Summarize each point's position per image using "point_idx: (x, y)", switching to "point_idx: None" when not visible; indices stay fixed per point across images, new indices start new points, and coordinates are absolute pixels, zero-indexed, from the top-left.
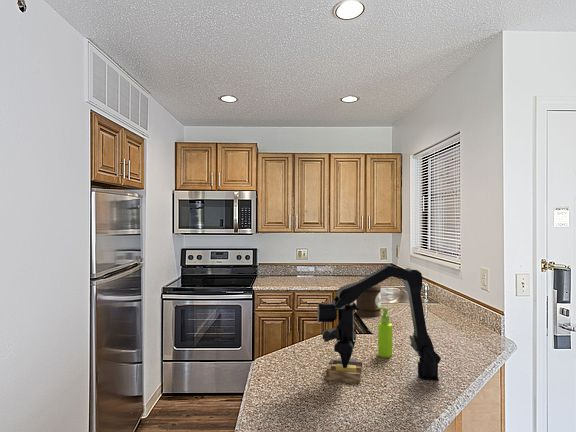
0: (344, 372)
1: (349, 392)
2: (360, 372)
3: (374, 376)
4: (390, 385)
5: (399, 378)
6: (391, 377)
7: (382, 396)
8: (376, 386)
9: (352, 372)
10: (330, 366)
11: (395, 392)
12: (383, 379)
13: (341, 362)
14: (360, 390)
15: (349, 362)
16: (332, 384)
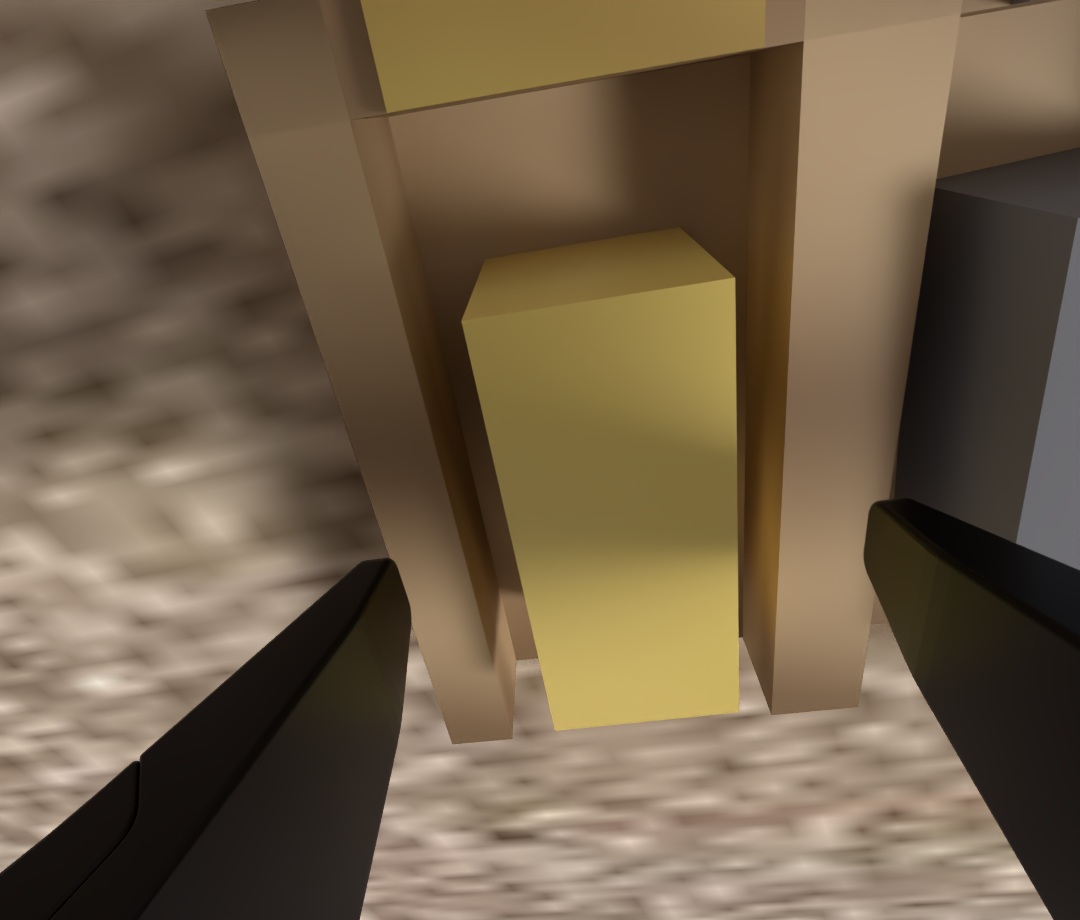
0: (394, 516)
1: (49, 582)
2: (747, 644)
3: (778, 732)
4: (541, 867)
5: (775, 902)
6: (788, 855)
7: None
8: (445, 783)
9: (471, 641)
10: (627, 48)
11: (382, 904)
12: (699, 810)
13: (1022, 329)
14: (214, 675)
15: (998, 534)
16: (144, 268)
